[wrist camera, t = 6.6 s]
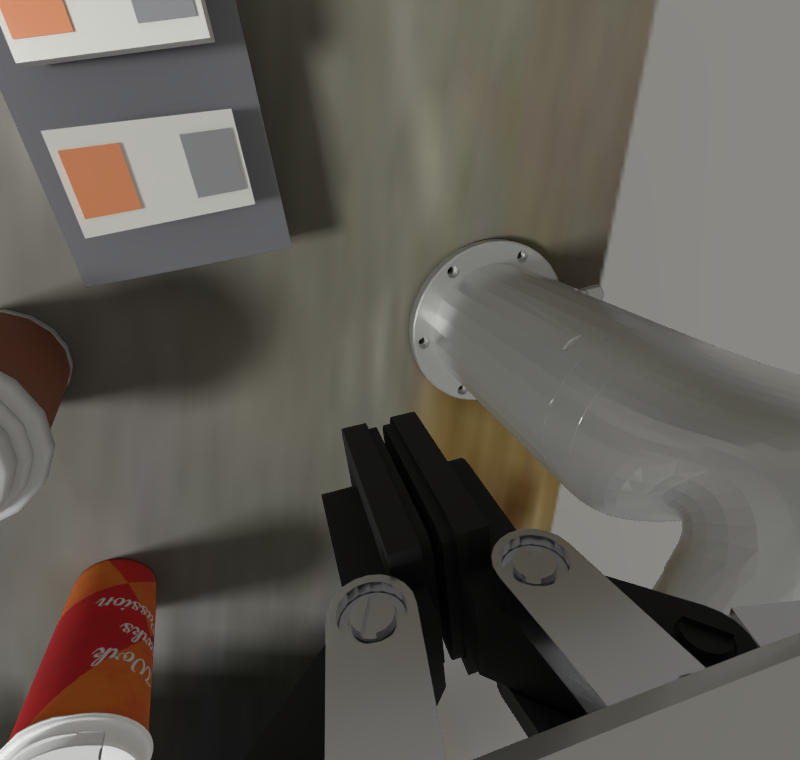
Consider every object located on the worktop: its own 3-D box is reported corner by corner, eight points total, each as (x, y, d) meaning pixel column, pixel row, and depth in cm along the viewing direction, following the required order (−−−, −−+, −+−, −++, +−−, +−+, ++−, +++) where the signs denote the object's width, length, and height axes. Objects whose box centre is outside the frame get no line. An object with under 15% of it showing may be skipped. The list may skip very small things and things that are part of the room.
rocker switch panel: (150, -343, 21) (135, -451, 17) (285, 237, 32) (294, 250, 28) (-163, -362, 18) (-262, -493, 15) (100, 273, 30) (82, 292, 26)
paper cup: (185, 601, 41) (171, 790, 29) (86, 637, 39) (27, 854, 27) (148, 531, 37) (114, 715, 25) (36, 568, 36) (-57, 783, 24)
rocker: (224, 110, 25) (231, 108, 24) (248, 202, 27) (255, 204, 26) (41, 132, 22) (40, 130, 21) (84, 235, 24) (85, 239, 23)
